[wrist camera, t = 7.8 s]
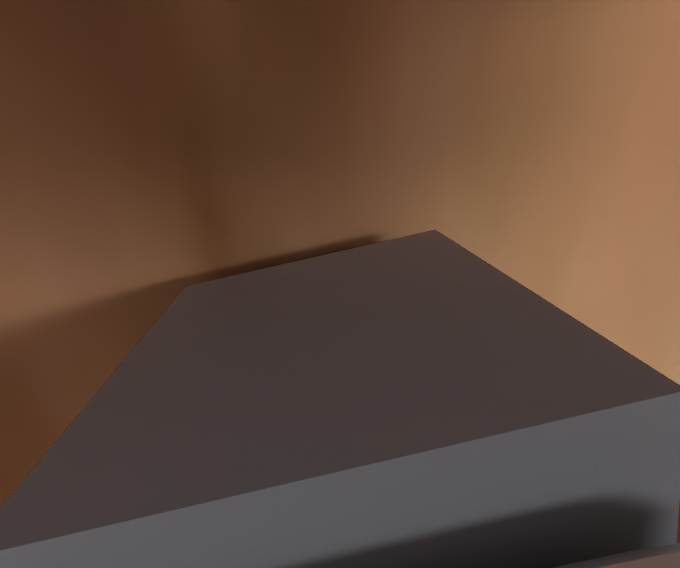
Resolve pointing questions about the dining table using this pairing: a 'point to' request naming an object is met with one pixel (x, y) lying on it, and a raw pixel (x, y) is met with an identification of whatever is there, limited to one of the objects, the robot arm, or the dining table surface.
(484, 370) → the matte gray cube
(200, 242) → the dining table surface
